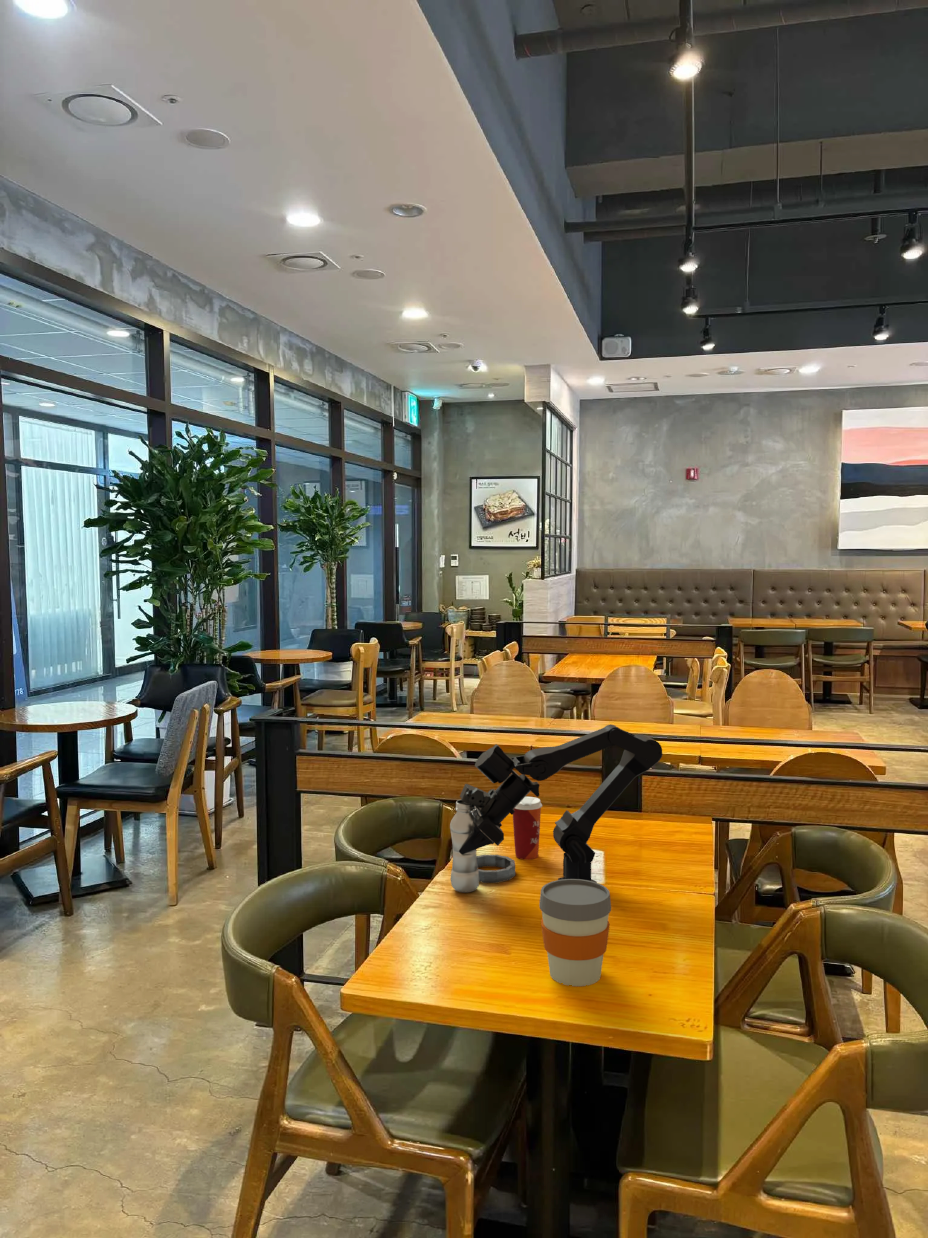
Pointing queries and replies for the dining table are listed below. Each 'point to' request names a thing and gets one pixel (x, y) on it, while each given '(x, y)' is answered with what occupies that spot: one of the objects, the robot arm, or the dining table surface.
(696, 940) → the dining table surface
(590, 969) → the reusable coffee cup
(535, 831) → the paper cup
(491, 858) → the collar
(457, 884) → the plastic bottle
